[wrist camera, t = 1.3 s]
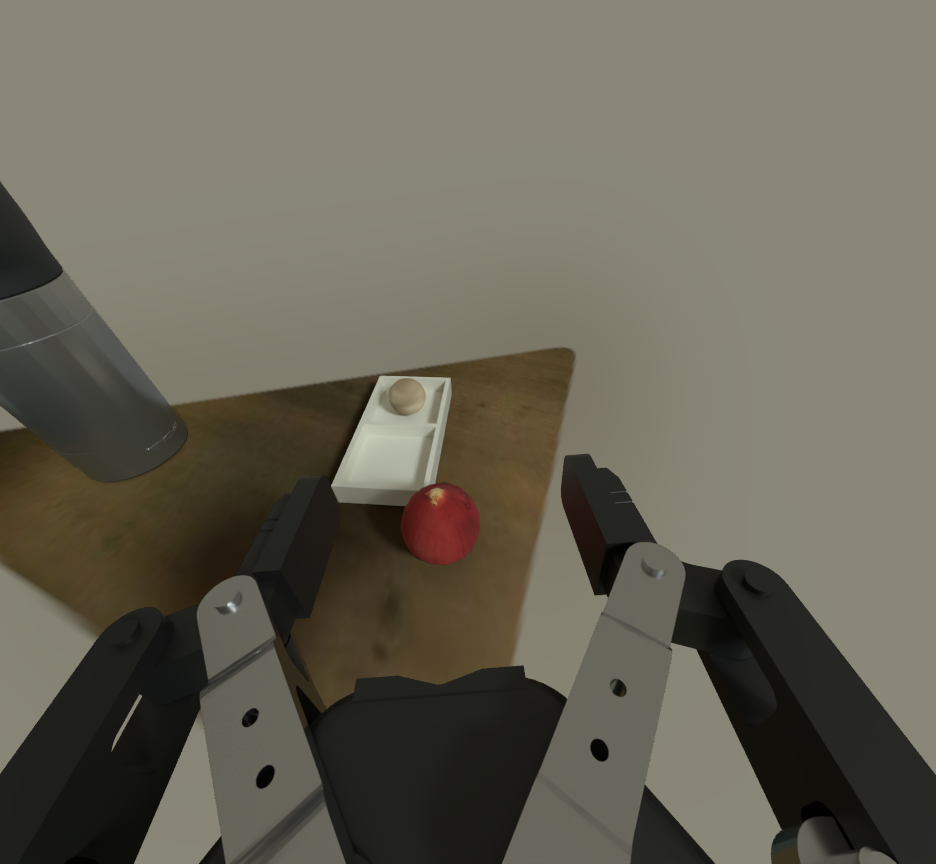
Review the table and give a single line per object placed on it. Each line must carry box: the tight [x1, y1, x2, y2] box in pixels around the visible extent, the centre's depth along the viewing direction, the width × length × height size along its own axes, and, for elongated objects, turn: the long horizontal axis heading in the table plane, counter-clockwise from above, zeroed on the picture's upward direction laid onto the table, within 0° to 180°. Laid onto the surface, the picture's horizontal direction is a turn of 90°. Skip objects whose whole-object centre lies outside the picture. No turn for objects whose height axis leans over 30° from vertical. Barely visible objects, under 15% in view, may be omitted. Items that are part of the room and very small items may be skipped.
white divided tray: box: [331, 376, 451, 506], centre depth 37 cm, size 8×16×2 cm, turn 175°
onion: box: [401, 482, 480, 565], centre depth 26 cm, size 6×6×8 cm
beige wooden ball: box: [389, 378, 426, 415], centre depth 39 cm, size 4×4×4 cm
